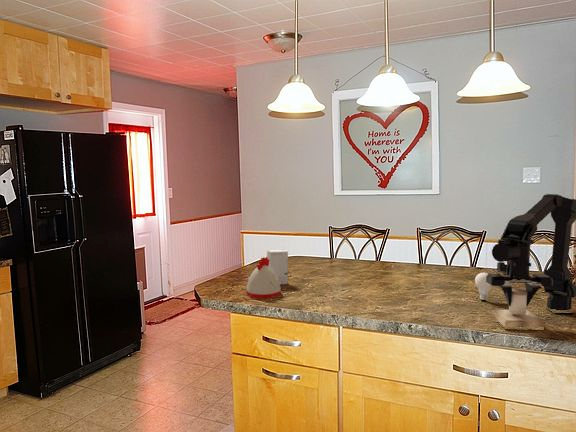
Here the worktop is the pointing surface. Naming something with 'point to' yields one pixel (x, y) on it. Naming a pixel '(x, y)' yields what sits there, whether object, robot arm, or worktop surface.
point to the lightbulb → (482, 285)
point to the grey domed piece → (263, 281)
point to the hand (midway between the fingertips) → (517, 305)
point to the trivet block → (517, 319)
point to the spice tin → (518, 301)
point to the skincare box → (279, 264)
